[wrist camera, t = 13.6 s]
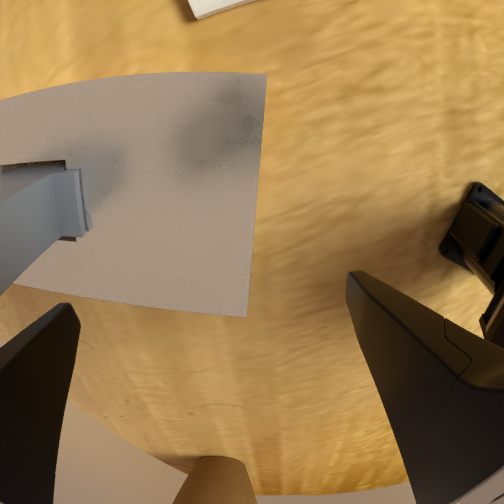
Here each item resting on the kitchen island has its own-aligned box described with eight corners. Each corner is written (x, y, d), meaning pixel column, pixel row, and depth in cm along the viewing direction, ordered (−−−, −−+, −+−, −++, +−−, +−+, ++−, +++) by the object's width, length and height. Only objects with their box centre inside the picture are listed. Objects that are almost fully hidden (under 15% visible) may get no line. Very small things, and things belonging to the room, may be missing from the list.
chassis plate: (266, 76, 16) (267, 74, 14) (248, 300, 24) (246, 317, 22) (-7, 104, 16) (-23, 107, 14) (21, 271, 24) (10, 282, 22)
